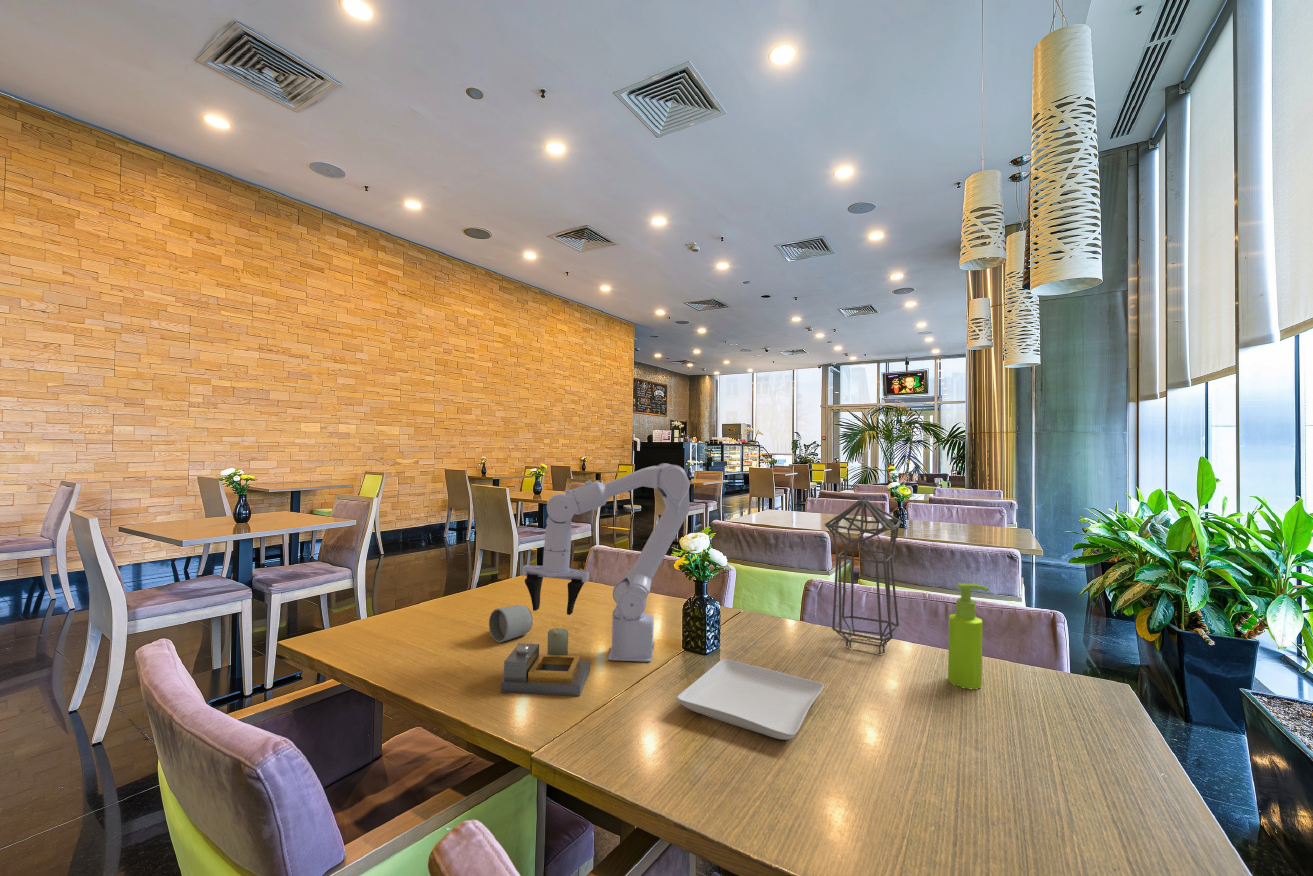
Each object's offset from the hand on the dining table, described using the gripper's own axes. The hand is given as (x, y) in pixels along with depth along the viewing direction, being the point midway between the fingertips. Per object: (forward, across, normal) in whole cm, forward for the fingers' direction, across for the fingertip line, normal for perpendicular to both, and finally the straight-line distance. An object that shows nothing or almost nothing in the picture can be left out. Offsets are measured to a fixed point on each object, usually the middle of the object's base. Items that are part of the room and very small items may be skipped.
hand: (552, 611), depth 115 cm
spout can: (+10, +2, 0) cm, 10 cm away
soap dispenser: (+6, +87, +4) cm, 87 cm away
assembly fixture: (+10, +3, -10) cm, 15 cm away
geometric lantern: (+7, +70, +21) cm, 73 cm away
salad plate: (+9, +43, -13) cm, 46 cm away
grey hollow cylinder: (+11, -15, +11) cm, 21 cm away
